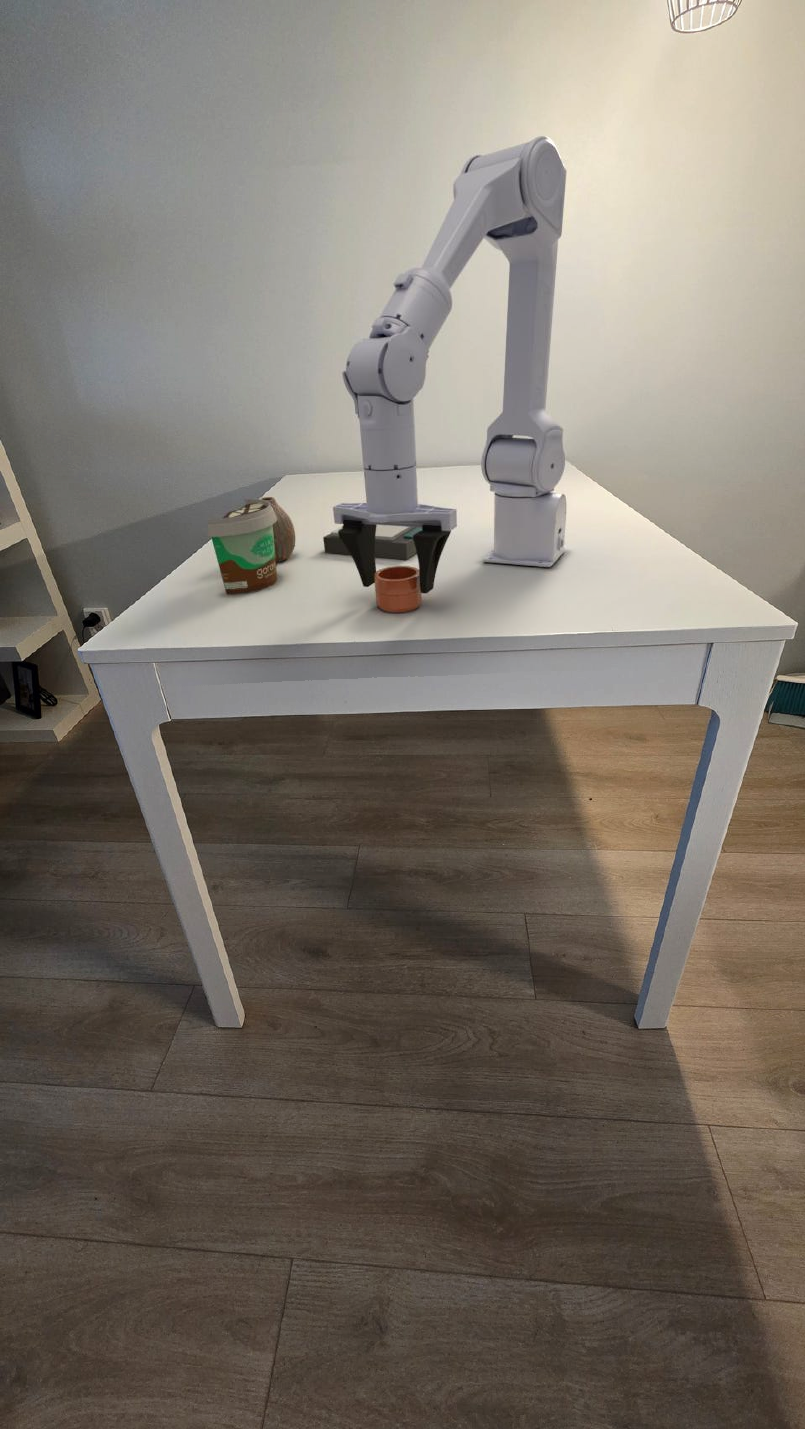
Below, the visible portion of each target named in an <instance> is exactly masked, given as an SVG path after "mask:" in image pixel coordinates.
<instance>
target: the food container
mask: <svg viewBox="0 0 805 1429" xmlns="http://www.w3.org/2000/svg"><path fill="white" fill-rule="evenodd" d="M243 500H244V506H242V507H241V508H239V509H236V510H235V509H234V510H231V511H228V512H227V513H226V514H225V515H224V516H223V517H222V518H221V517H220V518H207V519H206V522H207V525H206V528H207V538H211V542H212V545H213V549H214V553H215V556H216V561H217V564H218V569H219V571H220V576H221V580H222V582H223V587H224V590H225V594H226V595H242V594H249V593H254V592H259V591H261V590H264V589H267V588H269V587H271V586H273V585H274V584H276V582H277V581H278V573H277V562H276V559H275V548H274V537H273V525H272V524H274V523H275V522H276V521H277V518H276V515H275V512H274V510H273V507H272V506H270V503H269V502H268V501H266V500H262V499H260V498H246V497H245V498H244V499H243Z"/></svg>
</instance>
